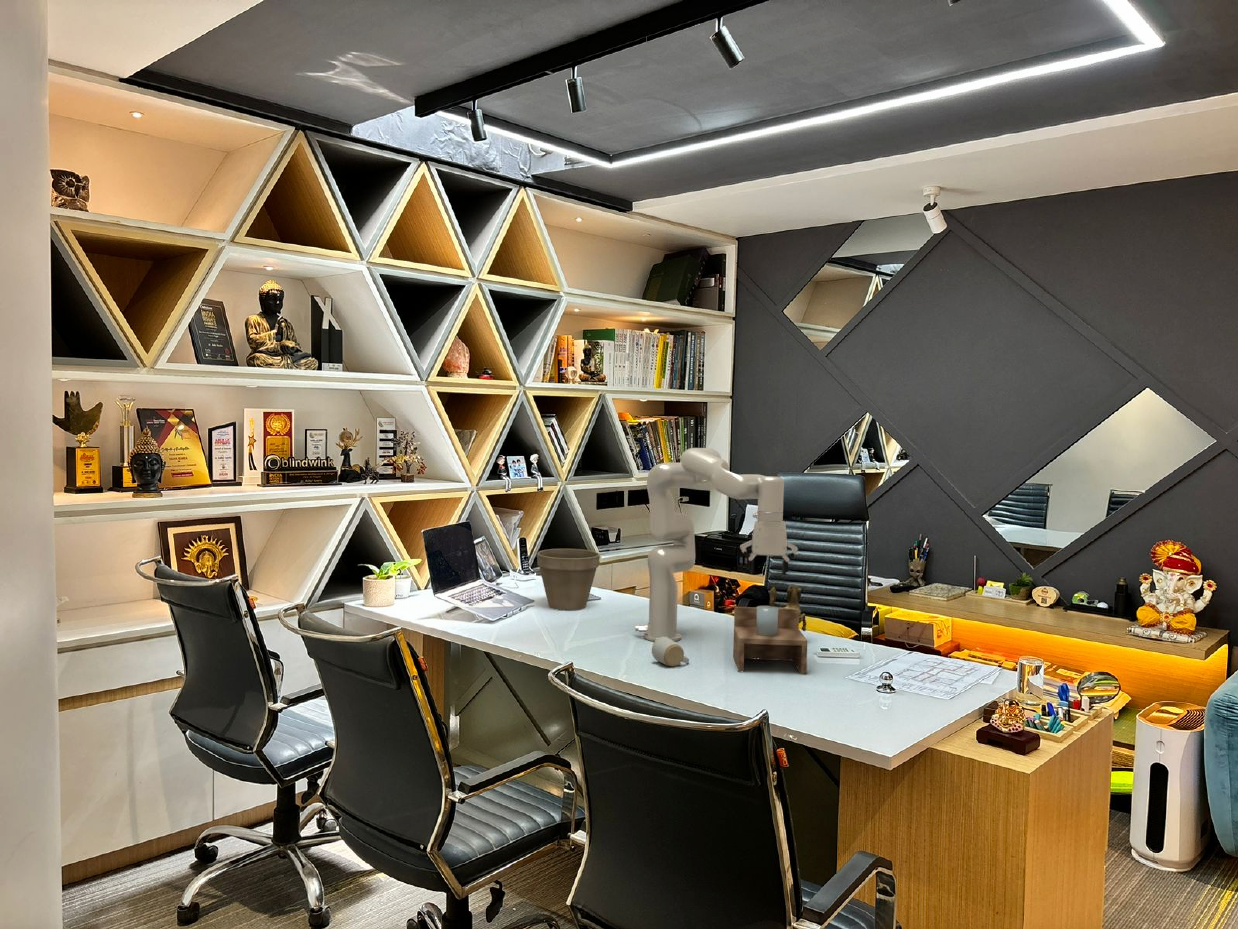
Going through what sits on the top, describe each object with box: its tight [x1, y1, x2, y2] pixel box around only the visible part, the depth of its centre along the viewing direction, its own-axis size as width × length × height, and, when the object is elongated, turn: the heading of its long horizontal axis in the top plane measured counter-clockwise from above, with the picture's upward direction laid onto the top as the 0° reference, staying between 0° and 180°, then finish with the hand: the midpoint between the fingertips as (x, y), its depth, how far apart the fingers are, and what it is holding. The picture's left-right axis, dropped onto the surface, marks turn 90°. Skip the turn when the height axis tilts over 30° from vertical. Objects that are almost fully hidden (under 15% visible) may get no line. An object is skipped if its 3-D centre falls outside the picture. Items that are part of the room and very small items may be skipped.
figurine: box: [769, 584, 807, 632], centre depth 305 cm, size 13×25×20 cm, turn 134°
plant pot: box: [536, 548, 601, 612], centre depth 358 cm, size 25×25×22 cm
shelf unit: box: [732, 606, 808, 675], centre depth 276 cm, size 20×17×16 cm
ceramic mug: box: [651, 637, 690, 667], centre depth 275 cm, size 11×8×8 cm
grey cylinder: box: [756, 605, 778, 636], centre depth 274 cm, size 6×6×8 cm
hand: (767, 573), depth 274 cm, fingers open, 9 cm apart
